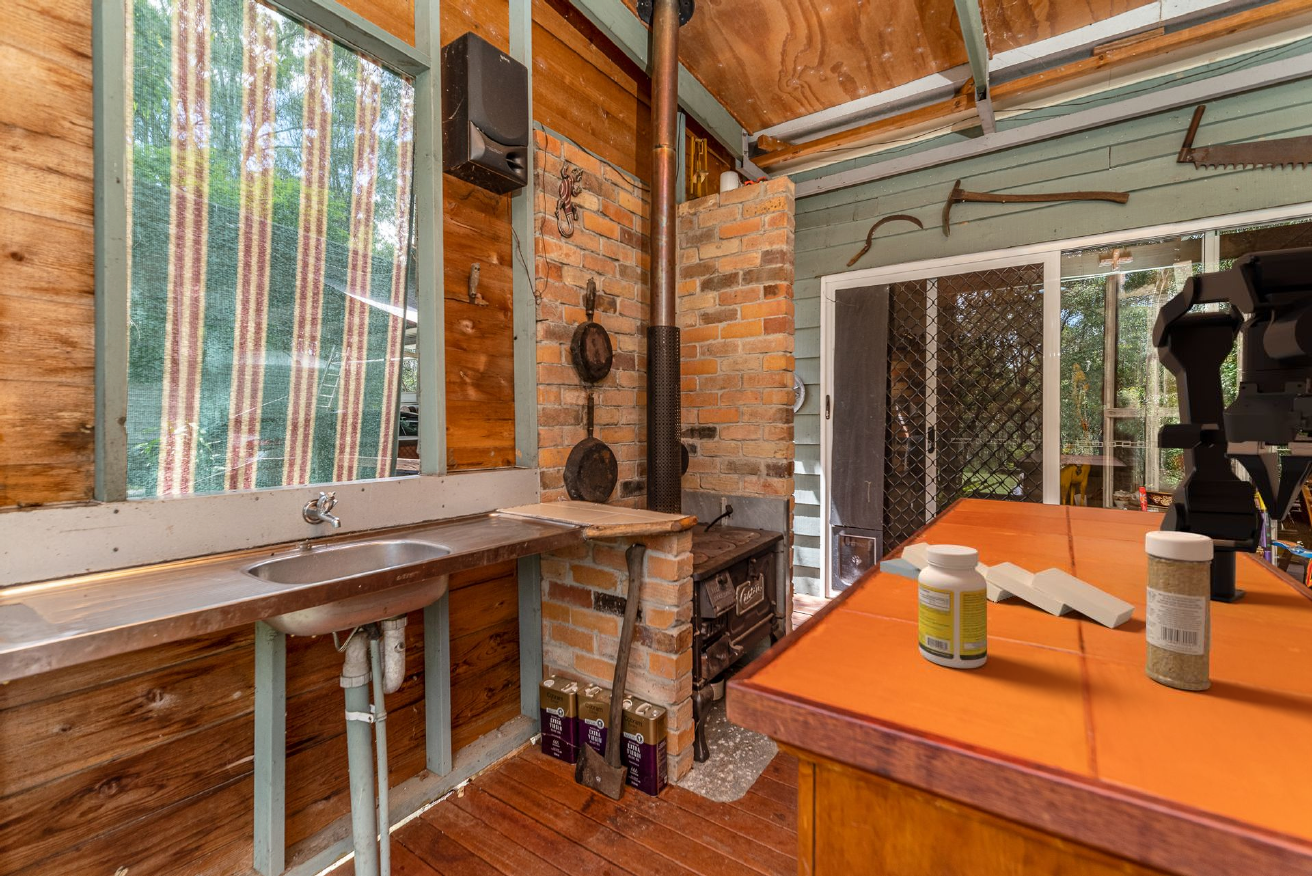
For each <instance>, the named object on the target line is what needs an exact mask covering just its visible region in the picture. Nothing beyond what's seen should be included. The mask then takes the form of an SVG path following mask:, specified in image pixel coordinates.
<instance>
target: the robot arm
mask: <svg viewBox="0 0 1312 876" xmlns="http://www.w3.org/2000/svg"><path fill="white" fill-rule="evenodd" d="M1220 303H1222V304H1223V303H1229V305H1230V309H1229V311H1228V313H1226V312H1225V311H1208V312H1207V311H1206V312H1195V313H1194V312H1193V313H1189V312H1190V311H1191V310H1193V308H1194V305H1195V306H1196V305H1207V304H1220ZM1247 314H1248V315H1250V314H1251V316H1250V317H1249V318H1248V319H1247V320H1245V316H1244V315H1247ZM1153 325H1154V326H1153V328H1152V335H1151V341H1152V346H1153V348H1156V349H1157V354H1158V361H1159V363H1160V364H1161V366H1163V367H1164V368H1165V369H1166V370H1167V371H1168V372H1169V373H1170V374H1171V375H1172V376H1173V377H1175V383H1176V397H1177V406H1178V415H1179V423H1166V424H1164V425H1162V426H1161V427H1160V428H1159V430H1158V432H1157V448H1158V449H1178V450H1179V449H1180V450H1182V456H1183V458H1182V459H1183V466H1184V477H1183V478H1182V479H1181V481H1180V483H1179V484H1178V485H1177V486H1176V488H1175V489H1174V491H1173V492H1172V493H1171V502H1170V503H1169V505H1168V507H1167V510H1166V512H1165V514H1164V517H1163V518H1162V521H1161V524H1160V526H1159V527H1160V528H1159V531H1174V532H1185V533H1193V534H1199V535H1203V536H1207V537H1209V538H1211V539H1212V540H1213V559H1211V560H1210V561H1211V562H1212V563H1211V564H1210V600H1211V599H1212V600H1214V601H1215V600H1216V601H1222V602H1225V603H1227V602H1228V603H1232V602H1234V601H1235V600H1238V599H1239V598H1241V597H1244V596H1245V595H1246V594H1247V592H1246V590H1242V589H1237V588H1236V583H1237V582H1236V577H1237V576H1236V575H1237V573H1236V571H1237V570H1236V569H1237V568H1236V566H1237V553H1248V554H1255V555H1256V554H1257V549H1258V548H1259V545H1260V540H1261V535H1262V530H1263V525H1264V523H1265V518H1264V517H1263V516H1262V513H1261V510H1260V508H1259V507H1258V506H1257V505H1256V499H1255V497H1256V496H1255V487H1256V489H1257V491H1258V495H1259V496H1260V498H1261V501H1262V503H1263V505H1264V507H1265V509H1266V511H1267V512H1266V513H1267V514H1268V516H1269V518H1270V520H1272V521H1284V520H1285V519H1286V517H1287V515H1288V513H1289V512H1290V510H1291V508H1292V507H1293V505H1294V503H1295V501H1296V500H1297V498H1298V496H1299V495H1300V492H1301V491H1302V489H1303V488H1304V485H1305V484H1306V482H1307V481H1308V480H1309V478H1311V476H1312V246H1303V247H1295V248H1284V249H1275V250H1267V251H1265V250H1264V251H1256V252H1248V253H1245V254H1243V255H1242V256H1240V257H1239V258H1237V259H1235V260H1234V261H1232V262H1231V268H1228V269H1222V270H1218V271H1212V272H1203V273H1200V272H1199V273H1196V274H1194V275H1192V276H1191V275H1190V276H1188V277H1187V278H1186V280H1185V282H1184V285H1183V287H1182V290H1181V291H1180V292H1179V293H1177V294H1176V295H1175V296H1174V297H1172V298H1171V299H1170V300H1168V301H1167V302H1166V303H1164V305H1162V306H1161V307H1160V309H1159V312H1158V314H1157V317H1156V320H1155V322H1154V324H1153ZM1239 333H1241V334H1242V352H1241V353H1242V355H1241V356H1242V363H1241V364H1242V365H1241V366H1242V367H1241V372H1242V373H1241V381H1239V386H1238V394H1237V397H1236V398H1235V400H1233V401H1231V403H1230V404H1228V405H1227V407H1225V399H1224V391H1223V383H1222V374H1221V366H1223V364H1224V363H1225V362H1226V360H1227V358H1228V357H1229V355H1230V353H1232V351H1233V350H1234V348H1235V341H1236V340H1237V337H1238V335H1239ZM1300 432H1301V434H1307V435H1298V434H1299V433H1300ZM1271 447H1288V448H1287V449H1288V450H1290V454H1284V455H1283V454H1282V455H1280V465H1281V473H1279V471H1280V470H1279V460H1278V459H1279V458H1278V457H1279V456H1278V452H1276V451H1275V452H1271V451H1270V452H1269V449H1270V448H1271ZM1232 459H1233V460H1236V461H1238V463H1239V464H1240V465H1241V466H1242V467H1243V468H1244V470H1245V471H1246V472H1247V473H1248V475H1249V477H1250V478H1251V480H1252V481H1253V483H1254V486H1255V487H1254V486H1253V484H1252V483H1251V481H1249V480H1242V479H1241V478H1240V477H1239V476H1238V475H1237V473H1235V472H1234V471H1233V466H1232ZM1279 474H1280V477H1279Z"/></svg>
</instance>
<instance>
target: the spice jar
mask: <svg viewBox="0 0 1312 876" xmlns="http://www.w3.org/2000/svg"><path fill="white" fill-rule="evenodd" d="M1144 544H1145V553H1147V554H1146V558H1147V583H1146V616H1145V617H1146V618H1145V620H1146V622H1145V625H1146V627H1145V629H1146V630H1145V640H1146V664H1145V665H1146V666H1145V668H1144V672H1145V674H1146V676H1147V677H1149V678H1150V679H1152V680H1153V681H1156V682H1158V683H1160V684H1161V685H1162V684H1163V685H1165V686H1169V687H1171V688H1174V689H1180V690H1186V691H1187V690H1188V691H1203V690H1208V689H1209V688H1210V687H1211V685H1212V682H1211V679H1210V651H1211V649H1212V648H1211V647H1212V644H1211V643H1212V616H1211V599H1210V564H1211V563H1212V562H1211V561H1210V560H1211V559H1213V539H1211V538H1209V537H1207V536H1203V535H1199V534H1193V533H1185V532H1174V531H1160V530H1155V531H1154V530H1153V531H1149V532H1147V533H1146V534H1145V543H1144Z"/></svg>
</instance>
